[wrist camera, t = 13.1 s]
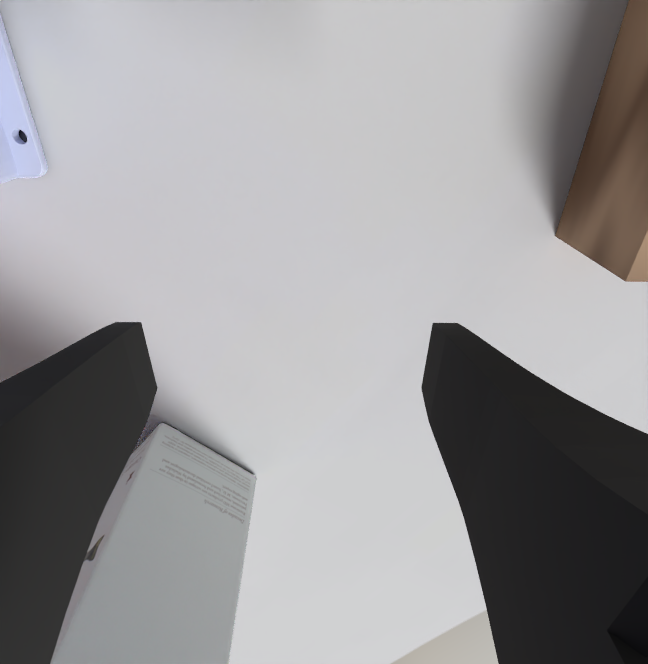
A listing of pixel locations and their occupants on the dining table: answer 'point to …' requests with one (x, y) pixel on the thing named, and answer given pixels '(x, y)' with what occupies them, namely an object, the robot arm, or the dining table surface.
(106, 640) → the supplement box
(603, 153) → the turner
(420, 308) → the dining table surface
